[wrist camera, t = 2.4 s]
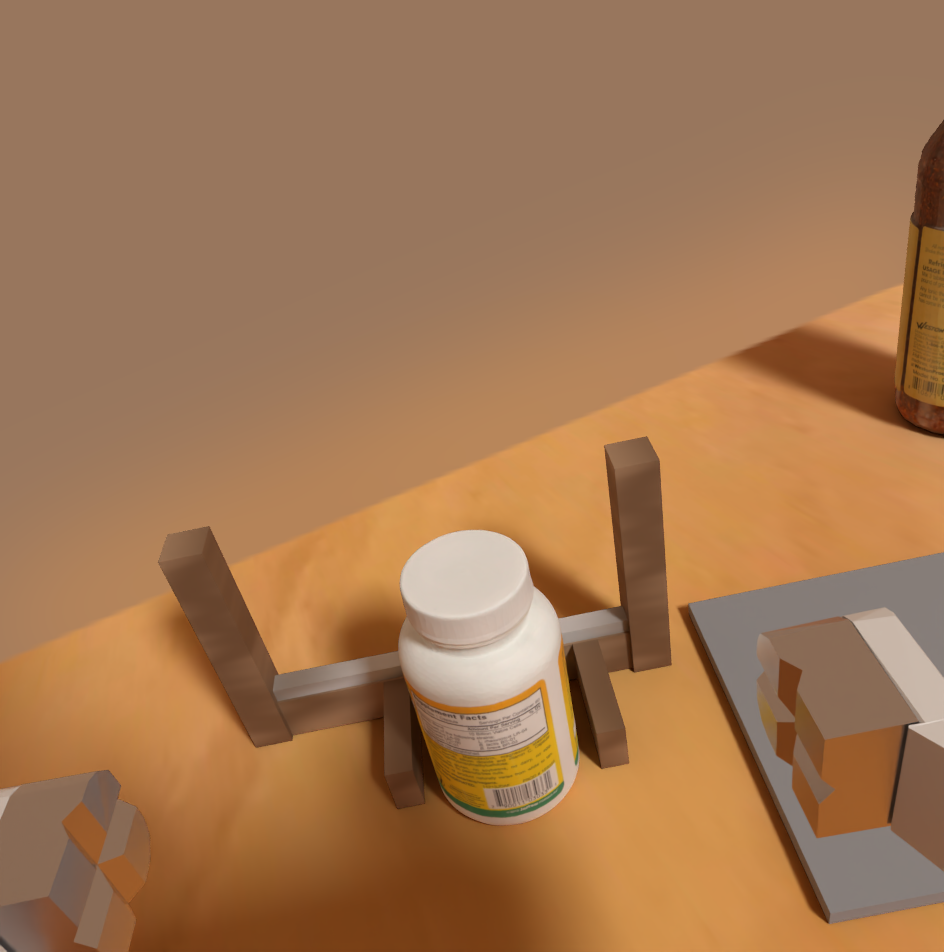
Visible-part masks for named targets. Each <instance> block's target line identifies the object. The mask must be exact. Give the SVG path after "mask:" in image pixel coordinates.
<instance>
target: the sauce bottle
mask: <svg viewBox="0 0 944 952" xmlns="http://www.w3.org/2000/svg"><path fill="white" fill-rule="evenodd" d="M894 382H895V386H896V388H895V393H896V404H897V407H898V410H899V411H900V413H901V415H902V416H903V417H904V418H905V419H906V420H907V421H909V422H911V423H912V424H914V425H915V426H917V427H921V428H923V429H926V430H929V431H931V432H934V433H940V434H944V120H943V122H942V123H941V124H940V125H939V127H938V128H937V130H936V131H935V132H934V133H933V135H932V136H931V137H930V139H929V141H928V142H927V144H926V145H925V147H924V149H923V151H922V155H921V159H920V161H919V165H918V174H917V184H916V193H915V206H914V212H913V213H912V215H911V218H910V227H909V237H908V247H907V257H906V268H905V277H904V287H903V297H902V307H901V317H900V327H899V337H898V347H897V357H896V367H895V377H894Z"/></svg>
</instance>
